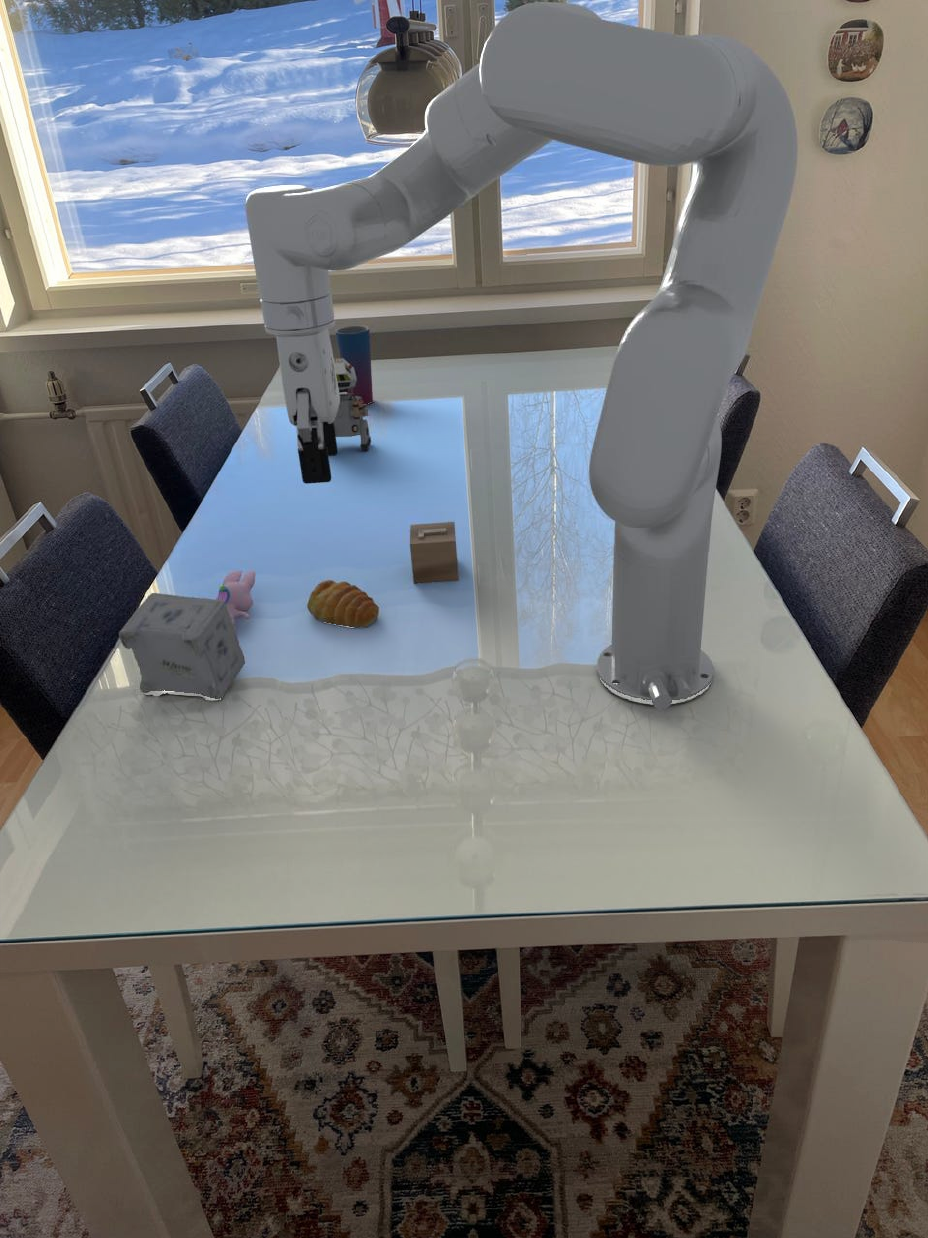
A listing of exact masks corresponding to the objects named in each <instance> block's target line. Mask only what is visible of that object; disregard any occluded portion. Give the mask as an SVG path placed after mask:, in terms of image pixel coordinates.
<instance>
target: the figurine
mask: <svg viewBox="0 0 928 1238" xmlns="http://www.w3.org/2000/svg"><path fill="white" fill-rule="evenodd" d="M334 364H335V371H336V377H337V383H338V388H339V394H340V403H339V407H338V411H337V415H336V418H335V420H334V421H333V422H334V428H335V435H336V438H352V437H357V436H360V451H362V452H365V451H366V452H367V451H368V450H369V447H370V446H371V444H372V438H371V436H370V429H369V424H368V420H367V419H365V418H364V417H369V409H367V408H366V406H365V404H362V401H363V400H362V397H358V396H354V394H353V389H354V387H355V384H356V381H357V378H356V375H357V372H356V371H355V370H354V368H353V367H352V366H351V365H350V364H349V363H348V362H347V361H346V360H344V359H343V358H340V357H339V358H338V357H337V358H334ZM348 389H351V394H347V392H348Z"/></svg>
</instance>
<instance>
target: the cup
mask: <svg viewBox="0 0 928 1238" xmlns="http://www.w3.org/2000/svg"><path fill="white" fill-rule="evenodd" d="M370 334H371V333H370V327H369V326H367V325H362V324H361V325H360V324H359V325H357V324H355V325H348V326H347V325H344V326H342V327H339V328H337V329H335V337H336V342H337V348H338V353H339V354H338V355H339V358H343V359H344V360H346V361H347V362H348V363H349V364H350V365H351V366H352V367H353V368H354V370H355V371H356V372H357V375H356V378H357V381H356V384H355V387H354V389H353V394H354V396H358V397H362V400H363V401H362V404H368V403H370V402H372V401H373V402H374V395H373V393H374V392H373V377H372V376H373V375H372V360H371V359H372V358H371V357H372V355H371V340H370V339H371V337H370ZM346 394H351V389H348V392H346ZM373 402H372V403H373Z"/></svg>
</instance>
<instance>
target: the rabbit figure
mask: <svg viewBox="0 0 928 1238" xmlns="http://www.w3.org/2000/svg"><path fill="white" fill-rule="evenodd" d="M242 574H243V571H242V570H234V571H231V572H229V573H227V574H226V576H225V578H224V579H223V581H222V585H221V586H220V587H219V590H218V595H217V597H216V598H215V599H214V600H221V601H223V602H224V603H225V604H226V606H227V609H228V613H229V616H230V618H231V620H232V624H233V628H234V630H235V633H236V634H237V624H236V621H235V620H236V619H237V618H238V617H244V618H245V619H246V620H250V619H251V615H250V614H249V613H247V612H248V611H249V610H250V609H251V608H252V607H253V605H254V600H253V597H252V594H251V590H252V589H253V587H254V585H255V582H256V571H254V570H253V569H252V570H251V569H250V570H249V571H247V572H245V573H244V574H243V576H242Z"/></svg>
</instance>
